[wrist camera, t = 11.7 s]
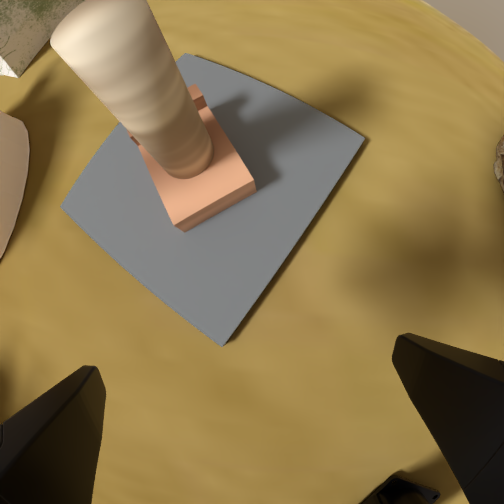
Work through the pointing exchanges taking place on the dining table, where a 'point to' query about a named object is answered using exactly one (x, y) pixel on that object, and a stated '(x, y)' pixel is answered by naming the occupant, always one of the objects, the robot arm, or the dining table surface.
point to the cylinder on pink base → (154, 107)
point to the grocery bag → (28, 30)
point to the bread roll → (500, 163)
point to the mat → (229, 220)
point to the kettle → (11, 173)
